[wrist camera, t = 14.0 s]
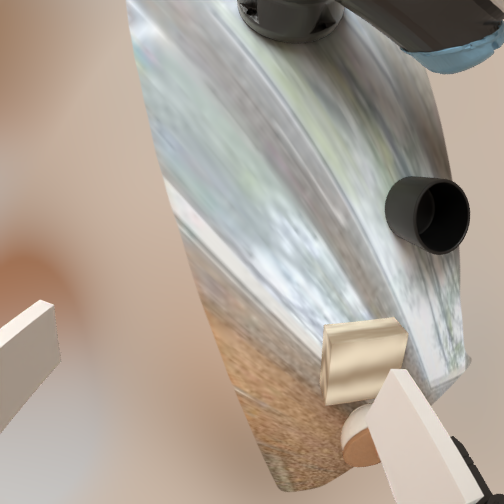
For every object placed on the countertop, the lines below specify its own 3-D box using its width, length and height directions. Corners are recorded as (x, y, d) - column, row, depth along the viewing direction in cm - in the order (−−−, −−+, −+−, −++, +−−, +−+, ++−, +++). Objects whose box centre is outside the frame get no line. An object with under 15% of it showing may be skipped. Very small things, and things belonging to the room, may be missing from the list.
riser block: (323, 323, 45) (332, 344, 39) (393, 316, 44) (408, 333, 39) (319, 383, 48) (325, 405, 42) (382, 374, 47) (394, 394, 42)
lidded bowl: (321, 423, 50) (331, 466, 40) (370, 383, 48) (390, 424, 37) (359, 441, 52) (371, 479, 41) (404, 406, 50) (423, 442, 39)
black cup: (451, 225, 40) (485, 238, 31) (390, 246, 41) (419, 264, 32) (441, 167, 38) (477, 169, 29) (377, 184, 39) (407, 188, 30)
